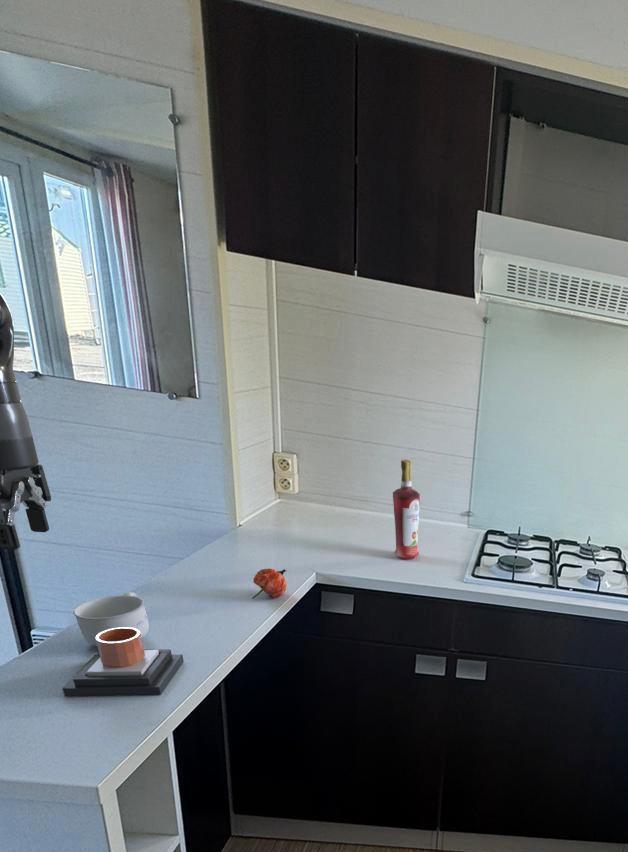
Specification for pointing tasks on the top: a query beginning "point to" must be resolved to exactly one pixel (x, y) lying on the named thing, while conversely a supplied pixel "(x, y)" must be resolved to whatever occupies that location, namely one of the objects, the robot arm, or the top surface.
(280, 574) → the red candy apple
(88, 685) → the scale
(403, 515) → the liquor
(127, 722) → the top surface
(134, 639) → the orange cup
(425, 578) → the top surface
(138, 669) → the pale square tile
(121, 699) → the top surface
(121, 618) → the teacup
